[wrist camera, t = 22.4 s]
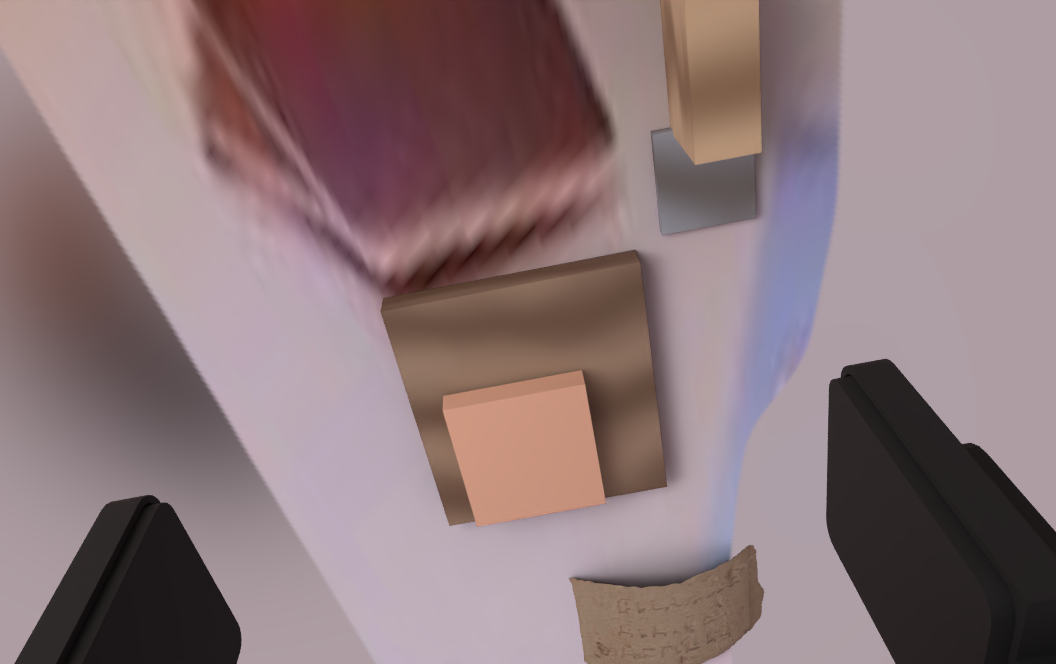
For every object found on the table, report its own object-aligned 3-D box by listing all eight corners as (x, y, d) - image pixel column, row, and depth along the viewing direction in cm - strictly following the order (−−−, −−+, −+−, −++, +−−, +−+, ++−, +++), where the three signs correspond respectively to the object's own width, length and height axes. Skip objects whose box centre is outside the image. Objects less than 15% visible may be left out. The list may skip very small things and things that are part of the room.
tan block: (637, -13, 36) (659, 4, 32) (745, -34, 36) (783, -20, 32) (660, 230, 42) (681, 272, 38) (752, 213, 42) (784, 252, 38)
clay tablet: (754, 533, 55) (766, 562, 53) (761, 626, 61) (772, 656, 58) (552, 571, 56) (556, 602, 54) (576, 660, 61) (580, 692, 59)
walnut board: (383, 298, 43) (380, 311, 42) (634, 249, 43) (640, 262, 42) (450, 509, 52) (449, 525, 50) (661, 470, 51) (666, 486, 50)
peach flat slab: (442, 410, 44) (476, 526, 48) (584, 384, 43) (606, 503, 48) (443, 393, 45) (476, 508, 50) (581, 368, 45) (602, 485, 49)
